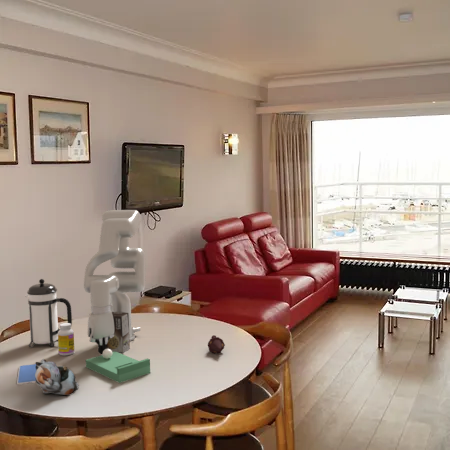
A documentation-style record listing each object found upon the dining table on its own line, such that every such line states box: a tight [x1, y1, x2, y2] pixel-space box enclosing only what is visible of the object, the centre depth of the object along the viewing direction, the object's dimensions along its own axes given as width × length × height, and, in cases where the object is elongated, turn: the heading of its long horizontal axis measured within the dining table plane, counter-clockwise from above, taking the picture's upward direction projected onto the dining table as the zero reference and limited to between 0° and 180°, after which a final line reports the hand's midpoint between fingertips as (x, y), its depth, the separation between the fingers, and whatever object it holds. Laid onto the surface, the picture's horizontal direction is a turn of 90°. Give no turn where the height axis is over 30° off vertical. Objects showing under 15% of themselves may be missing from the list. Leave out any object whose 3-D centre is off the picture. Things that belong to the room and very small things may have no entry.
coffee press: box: [25, 278, 73, 349], centre depth 255 cm, size 17×16×30 cm
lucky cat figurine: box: [35, 358, 79, 396], centre depth 200 cm, size 15×12×14 cm
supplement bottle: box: [57, 322, 75, 356], centre depth 241 cm, size 7×7×13 cm
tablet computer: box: [16, 363, 37, 386], centre depth 219 cm, size 19×13×1 cm, turn 17°
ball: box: [101, 349, 113, 359], centre depth 226 cm, size 4×4×4 cm
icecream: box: [207, 335, 226, 354], centre depth 240 cm, size 7×7×15 cm
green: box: [85, 351, 151, 384], centre depth 221 cm, size 14×24×5 cm, turn 44°
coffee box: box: [106, 312, 131, 353], centre depth 245 cm, size 9×6×16 cm
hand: (102, 353), depth 228 cm, fingers closed
